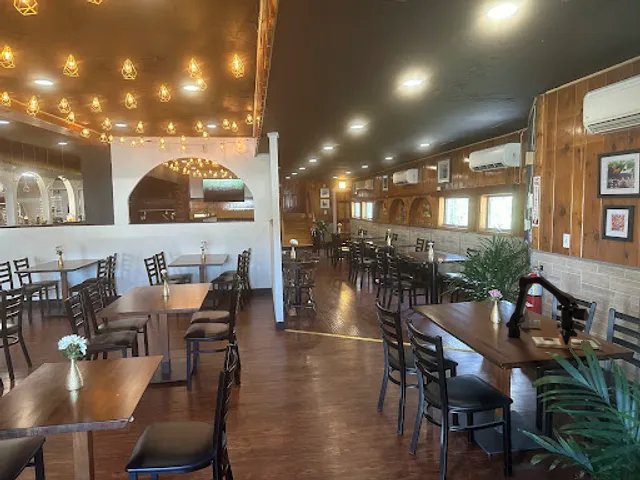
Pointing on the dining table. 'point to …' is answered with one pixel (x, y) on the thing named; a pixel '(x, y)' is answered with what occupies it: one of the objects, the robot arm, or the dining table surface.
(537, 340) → the trap board
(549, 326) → the dining table surface
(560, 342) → the orange block
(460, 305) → the dining table surface
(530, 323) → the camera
